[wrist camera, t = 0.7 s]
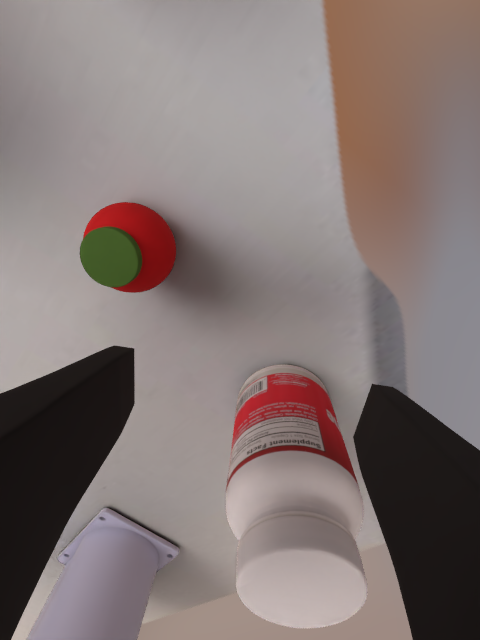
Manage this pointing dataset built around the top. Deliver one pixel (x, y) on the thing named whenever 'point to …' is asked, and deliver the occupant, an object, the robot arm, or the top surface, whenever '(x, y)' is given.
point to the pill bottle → (294, 503)
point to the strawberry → (128, 248)
